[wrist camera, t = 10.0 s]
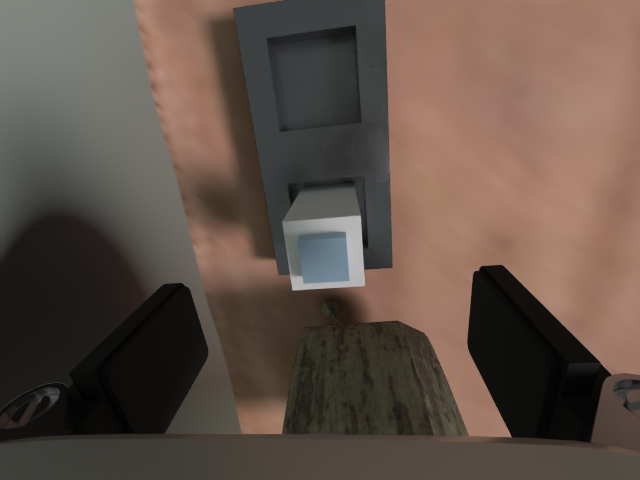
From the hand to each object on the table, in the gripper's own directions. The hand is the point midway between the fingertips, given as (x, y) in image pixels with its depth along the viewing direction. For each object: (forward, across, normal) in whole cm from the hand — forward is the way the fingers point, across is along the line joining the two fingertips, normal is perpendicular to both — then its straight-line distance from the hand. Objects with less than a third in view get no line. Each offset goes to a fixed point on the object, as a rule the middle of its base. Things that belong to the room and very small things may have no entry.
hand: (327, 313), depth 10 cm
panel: (+16, +1, -3) cm, 17 cm away
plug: (+15, +1, +1) cm, 15 cm away
